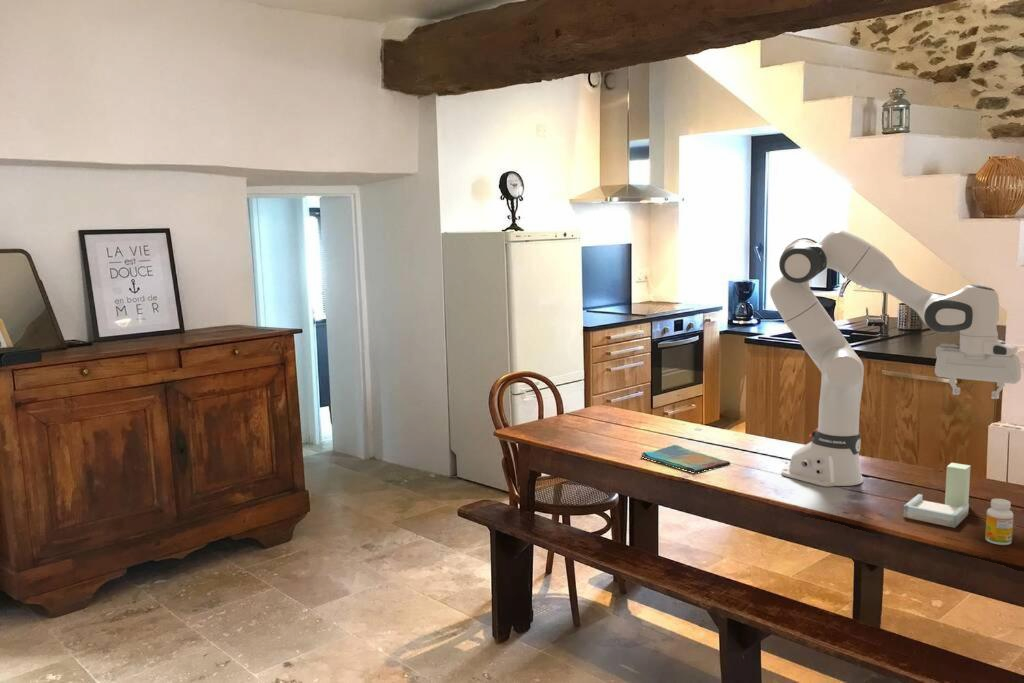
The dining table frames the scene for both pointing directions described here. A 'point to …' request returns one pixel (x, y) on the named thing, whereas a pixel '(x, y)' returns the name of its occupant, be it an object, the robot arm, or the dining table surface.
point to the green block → (957, 484)
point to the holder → (935, 512)
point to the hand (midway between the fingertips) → (975, 396)
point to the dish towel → (685, 459)
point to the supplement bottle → (999, 522)
